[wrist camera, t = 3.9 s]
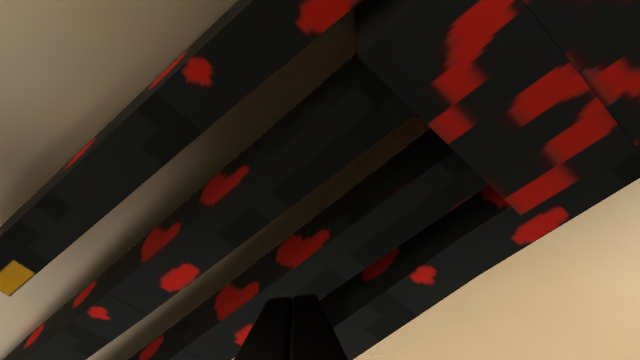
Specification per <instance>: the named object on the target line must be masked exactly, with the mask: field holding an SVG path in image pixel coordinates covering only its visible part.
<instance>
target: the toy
mask: <svg viewBox="0 0 640 360" xmlns="http://www.w3.org/2000/svg"><path fill="white" fill-rule="evenodd" d="M352 8H354V17H355V27H356V36H357V46H358V53H356V54H355V55H354V56H353V57H352V58H351V59H350V60H348V61H347V62H346V63H345V64H344V65H343V66H341V67H340V68H339V69H338V70H337V71H336V72H335V73H333V74H332V75H331V76H330V77H329V78H328V79H327V80H325V81H324V82H323V83H322V84H321V85H320V86H318V87H317V88H316V89H315V90H314V91H313V92H312V93H310V94H309V95H308V96H307V97H306V98H305V99H304V100H302V101H301V102H300V103H299V104H298V105H297V106H295V107H294V108H293V109H292V110H291V111H290V112H289V113H287V114H286V115H285V116H284V117H283V118H282V119H281V120H279V121H278V122H277V123H276V124H275V125H274V126H273V127H271V128H270V129H269V130H268V131H267V132H266V133H264V134H263V135H262V136H261V137H260V138H259V139H258V140H256V141H255V142H254V143H253V144H252V145H251V146H250V147H248V148H247V149H246V150H245V151H244V152H243V153H241V154H240V155H239V156H238V157H237V158H236V159H235V160H233V161H232V162H231V163H230V164H229V165H228V166H227V167H225V168H224V169H223V170H222V171H221V172H220V173H219V174H217V175H216V176H215V177H214V178H213V179H212V180H210V181H209V182H208V183H207V184H206V185H205V186H204V187H202V188H201V189H200V190H199V191H198V192H197V193H196V194H194V195H193V196H192V197H191V198H190V199H189V200H187V201H186V202H185V203H184V204H183V205H182V206H181V207H179V208H178V209H177V210H176V211H175V212H174V213H173V214H171V215H170V216H169V217H168V218H167V219H166V220H165V221H163V222H162V223H161V224H160V225H159V226H158V227H156V228H155V229H154V230H153V231H152V232H151V233H150V234H148V235H147V236H146V237H145V238H144V239H143V240H142V241H140V242H139V243H138V244H137V245H136V246H135V247H133V248H132V249H131V250H130V251H129V252H128V253H127V254H125V255H124V256H123V257H122V258H121V259H120V260H118V261H117V262H116V263H115V264H114V265H112V266H111V267H110V268H109V269H108V270H107V271H105V272H104V273H103V274H102V275H101V276H99V277H98V278H97V279H96V280H95V281H93V282H92V283H91V284H90V285H89V286H87V287H86V288H85V289H84V290H83V291H82V292H80V293H79V294H78V295H77V296H76V297H74V298H73V299H72V300H71V301H70V302H68V303H67V304H66V305H65V306H64V307H62V308H61V309H60V310H59V311H58V312H57V313H55V314H54V315H53V316H52V317H51V318H49V319H48V320H47V321H46V322H45V323H43V324H42V325H41V326H40V327H39V328H37V329H36V330H35V331H34V332H33V333H31V334H30V335H29V336H28V337H27V338H26V339H25V340H24V341H23V342H22V343H21V344H20V345H19V346H18V347H16V348H15V349H14V350H13V351H12V352H11V353H10V354H9V355H8V356H7V357H6V358H5V359H4V360H86V359H87V358H89V357H90V356H91V355H93V354H94V353H96V352H97V351H98V350H100V349H101V348H103V347H104V346H105V345H107V344H108V343H110V342H111V341H112V340H114V339H115V338H116V337H118V336H119V335H121V334H122V333H123V332H125V331H126V330H128V329H129V328H130V327H132V326H133V325H135V324H136V323H137V322H139V321H140V320H142V319H143V318H144V317H146V316H147V315H149V314H150V313H151V312H153V311H154V310H155V309H157V308H158V307H159V306H160V305H162V304H163V303H164V302H166V301H167V300H168V299H170V298H171V297H172V296H174V295H175V294H176V293H178V292H179V291H180V290H182V289H183V288H184V287H186V286H187V285H188V284H190V283H191V282H192V281H194V280H195V279H196V278H198V277H199V276H200V275H202V274H203V273H204V272H206V271H207V270H208V269H210V268H211V267H212V266H214V265H215V264H216V263H218V262H219V261H220V260H222V259H223V258H224V257H225V256H227V255H228V254H229V253H231V252H232V251H233V250H235V249H236V248H237V247H239V246H240V245H241V244H243V243H244V242H245V241H247V240H248V239H249V238H251V237H252V236H253V235H255V234H256V233H257V232H259V231H260V230H261V229H263V228H264V227H265V226H267V225H268V224H269V223H271V222H272V221H273V220H275V219H276V218H277V217H279V216H280V215H281V214H283V213H284V212H285V211H286V210H288V209H289V208H290V207H292V206H293V205H294V204H296V203H297V202H298V201H300V200H301V199H302V198H304V197H305V196H306V195H308V194H309V193H310V192H312V191H313V190H314V189H316V188H317V187H318V186H320V185H321V184H322V183H324V182H325V181H326V180H328V179H329V178H330V177H332V176H333V175H334V174H336V173H337V172H338V171H340V170H341V169H342V168H344V167H345V166H346V165H348V164H349V163H350V162H351V161H353V160H354V159H355V158H357V157H358V156H359V155H361V154H362V153H363V152H365V151H366V150H367V149H369V148H370V147H371V146H373V145H374V144H375V143H377V142H378V141H379V140H381V139H382V138H383V137H385V136H386V135H387V134H389V133H390V132H391V131H393V130H394V129H395V128H397V127H398V126H399V125H401V124H402V123H403V122H405V121H406V120H407V119H409V118H410V117H411V116H412V115H414V114H415V113H416V114H417V115H418V116H419V117H420V118H421V119H422V120H423V121H424V122H425V123H426V124H427V125H428V126H429V127H430V129H429V130H428V131H426V132H425V133H424V134H422V135H421V136H420V137H419V138H417V139H416V140H415V141H413V142H412V143H411V144H409V145H408V146H407V147H406V148H404V149H403V150H402V151H400V152H399V153H398V154H396V155H395V156H394V157H393V158H391V159H390V160H389V161H387V162H386V163H385V164H383V165H382V166H381V167H380V168H378V169H377V170H376V171H374V172H373V173H372V174H370V175H369V176H368V177H367V178H365V179H364V180H363V181H361V182H360V183H359V184H357V185H356V186H355V187H354V188H352V189H351V190H350V191H348V192H347V193H346V194H344V195H343V196H342V197H341V198H339V199H338V200H337V201H335V202H334V203H333V204H331V205H330V206H329V207H328V208H326V209H325V210H324V211H322V212H321V213H320V214H318V215H317V216H316V217H315V218H313V219H312V220H311V221H309V222H308V223H307V224H305V225H304V226H303V227H302V228H300V229H299V230H298V231H296V232H295V233H294V234H292V235H291V236H290V237H289V238H287V239H286V240H285V241H283V242H282V243H281V244H279V245H278V246H277V247H276V248H274V249H273V250H272V251H270V252H269V253H268V254H266V255H265V256H264V257H263V258H261V259H260V260H259V261H257V262H256V263H255V264H253V265H252V266H251V267H250V268H248V269H247V270H246V271H244V272H243V273H242V274H240V275H239V276H238V277H237V278H235V279H234V280H233V281H231V282H230V283H229V284H228V285H226V286H225V287H224V288H222V289H221V290H220V291H218V292H217V293H216V294H215V295H213V296H212V297H211V298H209V299H208V300H207V301H205V302H204V303H203V304H202V305H200V306H199V307H198V308H196V309H195V310H194V311H192V312H191V313H190V314H188V315H187V316H186V317H184V318H183V319H182V320H180V321H179V322H178V323H176V324H175V325H174V326H172V327H171V328H170V329H168V330H167V331H166V332H164V333H163V334H162V335H160V336H159V337H158V338H156V339H155V340H154V341H152V342H151V343H150V344H148V345H147V346H146V347H144V348H143V349H142V350H140V351H139V352H138V353H136V354H135V355H134V356H132V357H131V358H130V359H128V360H231V359H233V358H234V357H235V356H236V355H237V353H238V351H239V349H240V347H241V346H242V344H243V342H244V340H245V338H246V336H247V335H248V333H249V331H250V329H251V327H252V326H253V324H254V322H255V320H256V318H257V316H258V315H259V313H260V311H261V309H262V307H263V306H264V304H265V302H266V301H267V300H268V299H269V298H273V297H282V296H290V297H291V298H293V296H295V295H300V294H309V293H314V294H316V295H317V297H318V299H319V301H320V303H321V305H322V307H323V309H324V311H325V313H326V315H327V317H328V319H329V321H330V323H331V325H332V327H333V329H334V331H335V333H336V335H337V337H338V339H339V341H340V343H341V346H342V348H343V350H344V352H345V354H346V356H347V358H348V360H353V359H354V358H356V357H357V356H359V355H360V354H362V353H363V352H365V351H366V350H368V349H369V348H371V347H372V346H374V345H375V344H377V343H378V342H380V341H381V340H383V339H384V338H386V337H387V336H389V335H390V334H392V333H393V332H395V331H396V330H398V329H399V328H401V327H402V326H404V325H405V324H407V323H408V322H410V321H411V320H413V319H414V318H416V317H417V316H419V315H420V314H422V313H423V312H425V311H426V310H428V309H429V308H431V307H432V306H434V305H435V304H437V303H438V302H440V301H441V300H443V299H444V298H445V297H447V296H448V295H450V294H451V293H453V292H454V291H456V290H457V289H459V288H460V287H462V286H463V285H465V284H466V283H468V282H469V281H471V280H472V279H474V278H475V277H477V276H478V275H480V274H482V273H483V272H485V271H487V270H488V269H490V268H492V267H493V266H495V265H496V264H498V263H500V262H501V261H503V260H505V259H506V258H508V257H510V256H511V255H513V254H515V253H516V252H518V251H520V250H521V249H523V248H525V247H526V246H528V245H530V244H531V243H533V242H535V241H536V240H538V239H539V238H541V237H543V236H544V235H546V234H548V233H549V232H551V231H553V230H554V229H556V228H558V227H559V226H561V225H563V224H564V223H566V222H568V221H569V220H571V219H573V218H574V217H576V216H577V215H579V214H581V213H582V212H584V211H586V210H587V209H589V208H591V207H592V206H594V205H596V204H597V203H599V202H601V201H602V200H604V199H606V198H607V197H609V196H611V195H612V194H614V193H616V192H617V191H619V190H620V189H622V188H624V187H625V186H627V185H629V184H630V183H632V182H634V181H635V180H637V179H639V178H640V0H239V1H238V2H237V3H236V4H235V5H234V6H232V7H231V9H229V10H228V11H227V12H226V13H225V14H224V15H223V16H222V17H221V18H220V19H219V20H218V21H217V22H216V23H215V24H213V25H212V26H211V27H210V28H209V29H208V30H207V31H206V32H205V33H204V34H203V35H202V36H201V37H200V38H199V39H198V40H197V41H196V42H195V43H193V44H192V45H191V46H190V47H189V48H188V49H187V50H186V51H185V52H184V53H183V54H182V55H181V56H180V57H179V58H178V59H177V60H176V61H175V62H174V63H172V64H171V65H170V66H169V67H168V68H167V69H166V70H165V71H164V72H163V73H162V74H161V75H160V76H159V77H158V78H157V79H156V80H155V81H154V82H152V83H151V84H150V85H149V86H148V87H147V88H146V89H145V90H144V91H143V92H142V93H141V94H140V95H139V96H138V97H137V98H136V99H135V100H134V101H132V102H131V103H130V104H129V105H128V106H127V107H126V108H125V109H124V110H123V111H122V112H121V113H120V114H119V115H118V116H117V117H116V118H115V119H114V120H113V121H111V122H110V123H109V124H108V125H107V126H106V127H105V128H104V129H103V130H102V131H101V132H100V133H99V134H98V135H97V136H96V137H95V138H94V139H93V140H91V141H90V142H89V143H88V144H87V145H86V146H85V147H84V148H83V149H82V150H81V151H80V152H79V153H78V154H77V155H76V156H75V157H74V158H73V159H72V160H70V161H69V162H68V163H67V164H66V165H65V166H64V167H63V168H62V169H61V170H60V171H59V172H58V173H57V174H56V175H55V176H54V177H53V178H52V179H50V180H49V181H48V182H47V183H46V184H45V185H44V186H43V187H42V188H41V189H40V190H39V191H38V192H37V193H36V194H35V195H34V196H33V197H32V198H30V199H29V200H28V201H27V202H26V203H25V204H24V205H23V206H22V207H21V208H20V209H19V210H18V211H17V212H16V213H15V214H14V215H13V216H12V217H11V218H9V219H8V220H7V221H6V222H5V223H4V224H3V225H2V226H1V227H0V291H1V292H3V293H5V294H6V295H8V296H11V295H12V294H13V293H14V292H16V291H17V290H18V289H19V288H20V287H21V286H23V285H24V284H25V283H26V282H27V281H29V280H30V279H31V278H32V277H33V276H34V275H36V274H37V273H38V272H39V271H40V270H41V269H43V268H44V267H45V266H46V265H47V264H49V263H50V262H51V261H52V260H53V259H54V258H56V257H57V256H58V255H59V254H60V253H61V252H63V251H64V250H65V249H66V248H67V247H69V246H70V245H71V244H72V243H73V242H74V241H76V240H77V239H78V238H79V237H80V236H82V235H83V234H84V233H85V232H86V231H87V230H89V229H90V228H91V227H92V226H93V225H94V224H96V223H97V222H98V221H99V220H100V219H102V218H103V217H104V216H105V215H106V214H107V213H109V212H110V211H111V210H112V209H113V208H115V207H116V206H117V205H118V204H119V203H120V202H122V201H123V200H124V199H125V198H126V197H127V196H129V195H130V194H131V193H132V192H133V191H135V190H136V189H137V188H138V187H139V186H140V185H142V184H143V183H144V182H145V181H146V180H147V179H149V178H150V177H151V176H152V175H153V174H155V173H156V172H157V171H158V170H159V169H160V168H162V167H163V166H164V165H165V164H166V163H168V162H169V161H170V160H171V159H172V158H173V157H175V156H176V155H177V154H178V153H179V152H180V151H182V150H183V149H184V148H185V147H186V146H188V145H189V144H190V143H191V142H192V141H193V140H195V139H196V138H197V137H198V136H199V135H200V134H202V133H203V132H204V131H205V130H206V129H208V128H209V127H210V126H211V125H212V124H213V123H215V122H216V121H217V120H218V119H219V118H221V117H222V116H223V115H224V114H225V113H226V112H228V111H229V110H230V109H231V108H232V107H233V106H235V105H236V104H237V103H238V102H239V101H241V100H242V99H243V98H244V97H245V96H246V95H248V94H249V93H250V92H251V91H252V90H253V89H255V88H256V87H257V86H258V85H259V84H261V83H262V82H263V81H264V80H265V79H266V78H268V77H269V76H270V75H271V74H273V73H274V72H275V71H276V70H278V69H279V68H280V67H281V66H282V65H284V64H285V63H286V62H287V61H289V60H290V59H291V58H292V57H293V56H295V55H296V54H297V53H298V52H300V51H301V50H302V49H303V48H305V47H306V46H307V45H308V44H309V43H311V42H312V41H313V40H314V39H316V38H317V37H318V36H319V35H321V34H322V33H323V32H324V31H325V30H327V29H328V28H329V27H330V26H332V25H333V24H334V23H335V22H336V21H338V20H339V19H340V18H341V17H343V16H344V15H345V14H346V13H348V12H349V11H350V10H351V9H352ZM324 296H325V297H324ZM321 298H322V299H321Z"/></svg>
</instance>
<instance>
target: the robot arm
mask: <svg viewBox="0 0 640 360" xmlns="http://www.w3.org/2000/svg"><path fill="white" fill-rule="evenodd" d="M234 360H348V358H347V356H346V354H345V352H344V350H343V348H342V346H341V343H340V341H339V339H338V337H337V335H336V333H335V331H334V329H333V327H332V325H331V323H330V321H329V319H328V317H327V315H326V313H325V311H324V309H323V307H322V305H321V303H320V301H319V299H318V297H317V295H316V294H314V293H309V294H300V295H295V296H293V298H291V297H290V296H282V297H273V298H269V299H268V300H267V301H266V302H265V304H264V306H263V307H262V309H261V311H260V313H259V315H258V316H257V318H256V320H255V322H254V324H253V326H252V327H251V329H250V331H249V333H248V335H247V336H246V338H245V340H244V342H243V344H242V346H241V347H240V349H239V351H238V353H237V355H236V356H235V358H234Z"/></svg>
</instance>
